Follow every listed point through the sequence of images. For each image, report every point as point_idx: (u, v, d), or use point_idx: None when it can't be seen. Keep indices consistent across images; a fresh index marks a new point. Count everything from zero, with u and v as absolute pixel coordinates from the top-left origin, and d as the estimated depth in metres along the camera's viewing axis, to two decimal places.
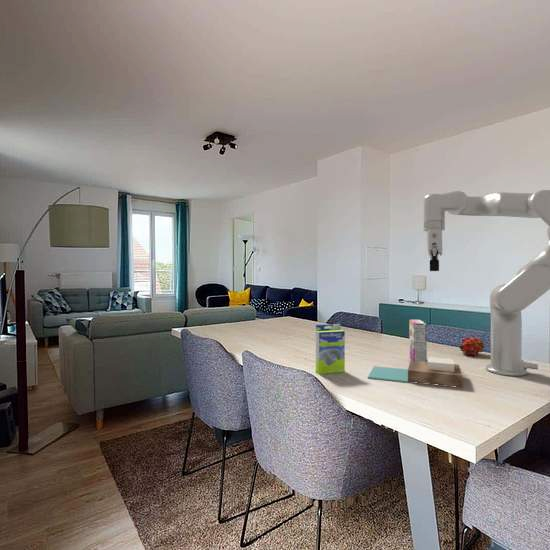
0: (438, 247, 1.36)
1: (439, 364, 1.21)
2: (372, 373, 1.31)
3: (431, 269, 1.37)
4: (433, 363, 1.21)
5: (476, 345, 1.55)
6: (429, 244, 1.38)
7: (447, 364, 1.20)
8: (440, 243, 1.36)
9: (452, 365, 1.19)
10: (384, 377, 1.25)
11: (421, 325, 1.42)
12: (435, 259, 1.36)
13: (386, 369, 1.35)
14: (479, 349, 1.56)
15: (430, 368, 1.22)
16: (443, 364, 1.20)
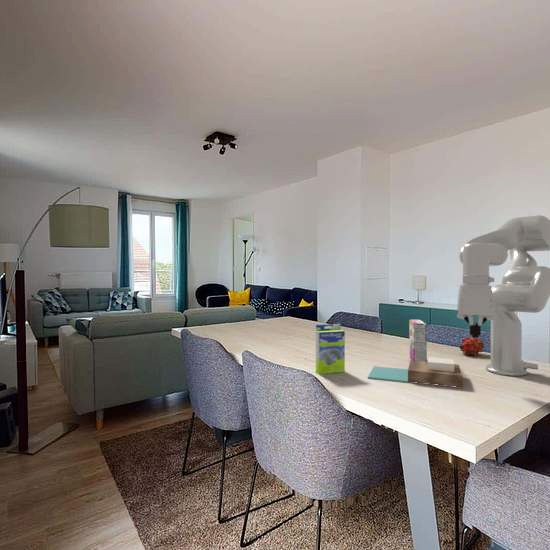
0: None
1: (439, 364, 1.21)
2: (372, 373, 1.31)
3: None
4: (433, 363, 1.21)
5: (476, 345, 1.55)
6: (493, 303, 1.16)
7: (447, 364, 1.20)
8: None
9: (452, 365, 1.19)
10: (384, 377, 1.25)
11: (421, 325, 1.42)
12: None
13: (386, 369, 1.35)
14: (479, 349, 1.56)
15: (430, 368, 1.22)
16: (443, 364, 1.20)
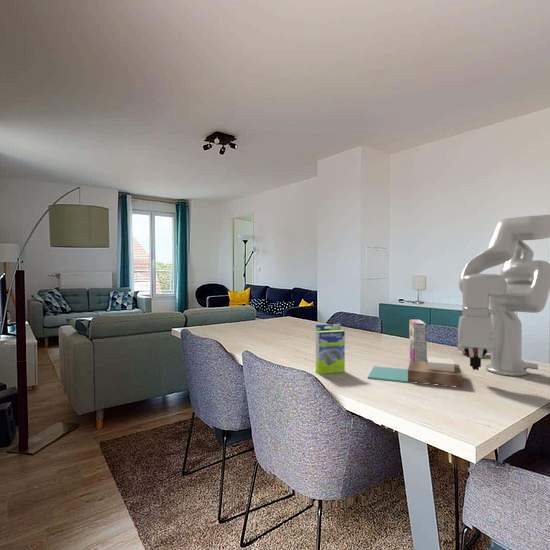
0: None
1: (439, 364, 1.21)
2: (372, 373, 1.31)
3: None
4: (433, 363, 1.21)
5: None
6: (493, 336, 1.16)
7: (447, 364, 1.20)
8: None
9: (452, 365, 1.19)
10: (384, 377, 1.25)
11: (421, 325, 1.42)
12: None
13: (386, 369, 1.35)
14: None
15: (430, 368, 1.22)
16: (443, 364, 1.20)
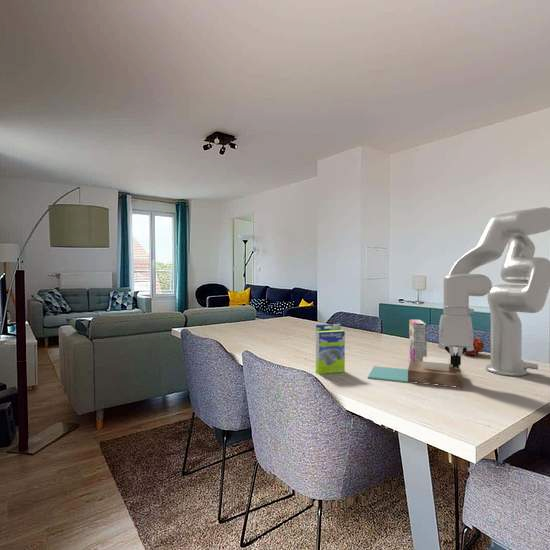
0: None
1: (434, 363, 1.21)
2: (372, 373, 1.31)
3: None
4: (428, 363, 1.22)
5: (476, 345, 1.55)
6: (472, 334, 1.18)
7: (442, 363, 1.20)
8: None
9: (447, 364, 1.20)
10: (384, 377, 1.25)
11: (421, 325, 1.42)
12: None
13: (386, 369, 1.35)
14: (479, 349, 1.56)
15: (425, 367, 1.22)
16: (438, 363, 1.21)
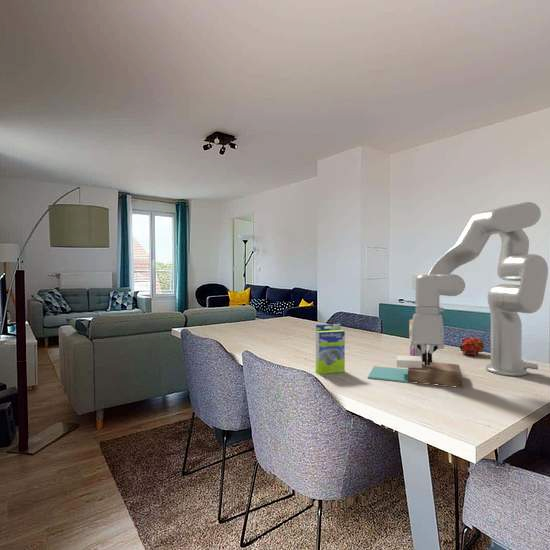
0: None
1: (407, 361, 1.24)
2: (372, 373, 1.31)
3: (429, 363, 1.24)
4: (402, 361, 1.25)
5: (476, 345, 1.55)
6: (442, 333, 1.22)
7: (415, 361, 1.23)
8: None
9: (420, 362, 1.23)
10: (384, 377, 1.25)
11: None
12: None
13: (386, 369, 1.35)
14: (479, 349, 1.56)
15: (399, 366, 1.25)
16: (411, 361, 1.24)
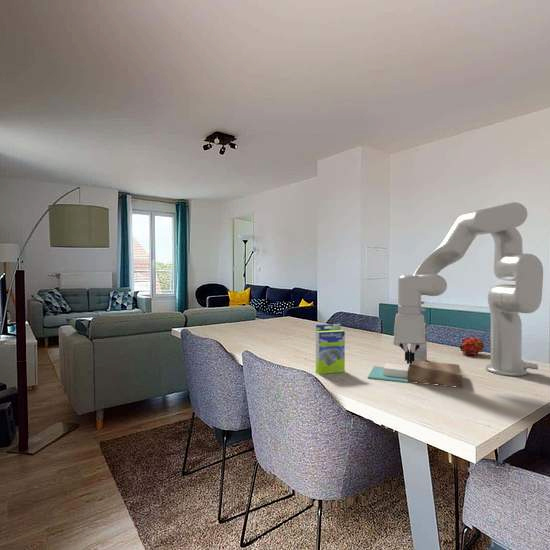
0: None
1: (394, 370, 1.26)
2: (372, 373, 1.31)
3: (411, 362, 1.26)
4: (388, 369, 1.27)
5: (476, 345, 1.55)
6: (424, 332, 1.24)
7: (401, 370, 1.25)
8: None
9: (406, 371, 1.24)
10: (384, 377, 1.25)
11: None
12: None
13: None
14: (479, 349, 1.56)
15: (385, 374, 1.27)
16: (397, 370, 1.25)
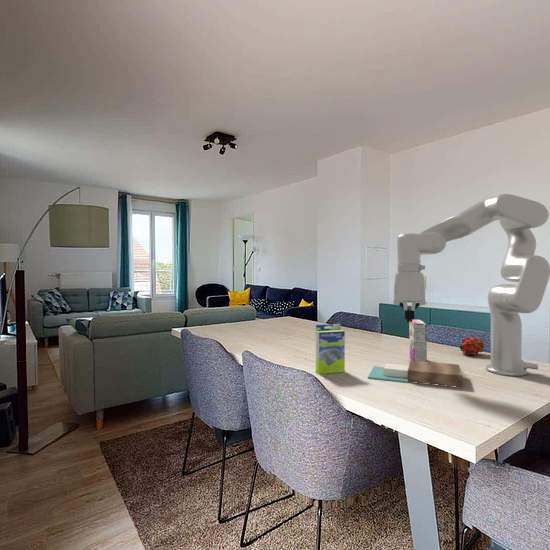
0: None
1: (394, 370, 1.26)
2: (372, 373, 1.31)
3: (411, 320, 1.27)
4: (388, 369, 1.27)
5: (476, 345, 1.55)
6: (423, 289, 1.24)
7: (401, 370, 1.25)
8: None
9: (405, 371, 1.24)
10: (384, 377, 1.25)
11: (421, 325, 1.42)
12: (413, 310, 1.28)
13: None
14: (479, 349, 1.56)
15: (385, 374, 1.27)
16: (397, 370, 1.25)
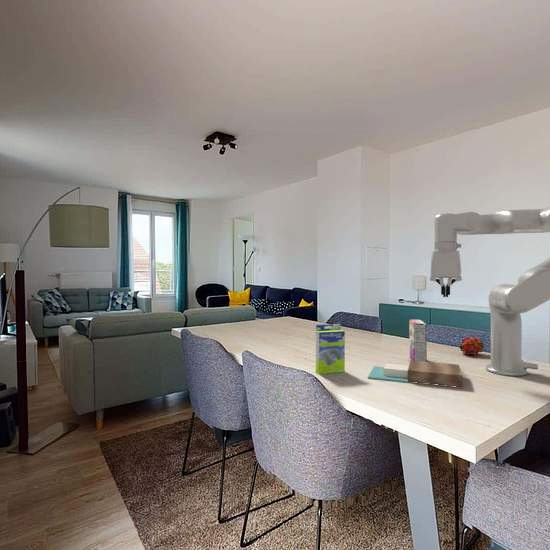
0: None
1: (394, 370, 1.26)
2: (372, 373, 1.31)
3: None
4: (388, 369, 1.27)
5: (476, 345, 1.55)
6: (460, 266, 1.32)
7: (401, 370, 1.25)
8: None
9: (405, 371, 1.24)
10: (384, 377, 1.25)
11: (421, 325, 1.42)
12: (449, 286, 1.36)
13: None
14: (479, 349, 1.56)
15: (385, 374, 1.27)
16: (397, 370, 1.25)
